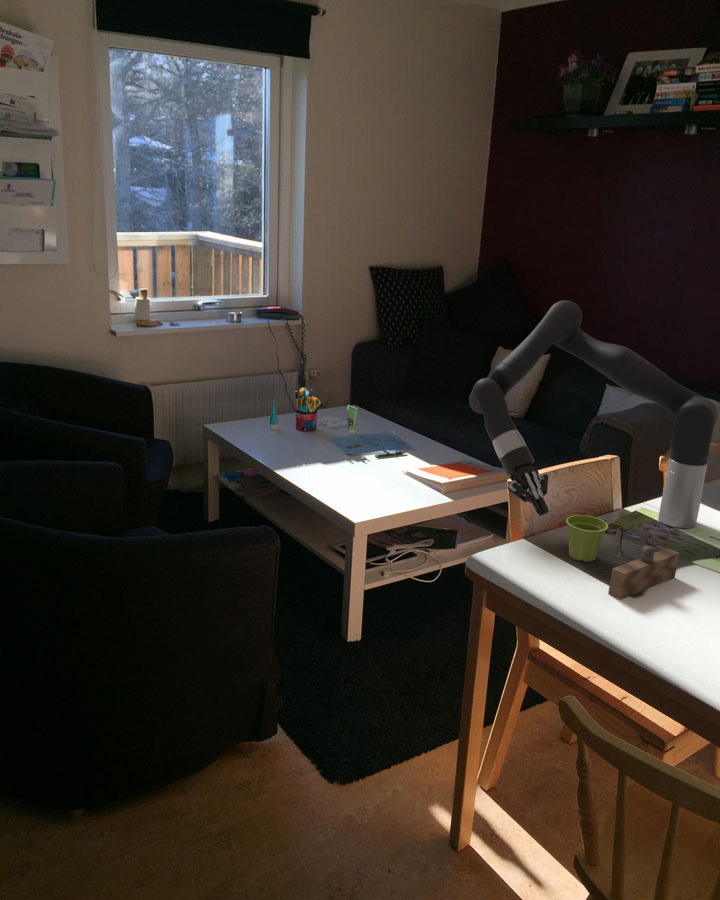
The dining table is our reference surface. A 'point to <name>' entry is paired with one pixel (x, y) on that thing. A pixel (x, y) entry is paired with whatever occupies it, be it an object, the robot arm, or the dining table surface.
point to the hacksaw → (618, 541)
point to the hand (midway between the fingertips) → (544, 514)
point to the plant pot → (585, 536)
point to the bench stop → (643, 572)
